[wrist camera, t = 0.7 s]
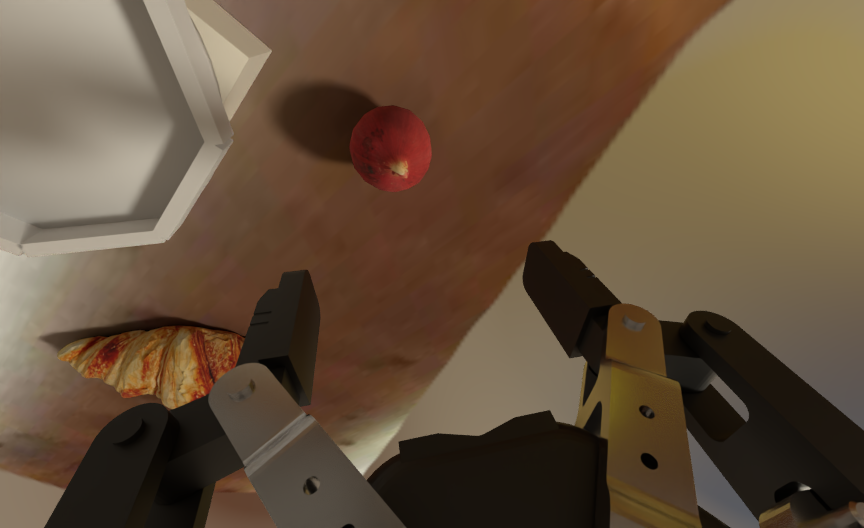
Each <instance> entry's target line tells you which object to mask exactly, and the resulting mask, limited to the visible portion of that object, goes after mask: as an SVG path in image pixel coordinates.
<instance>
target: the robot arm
mask: <svg viewBox="0 0 864 528" xmlns="http://www.w3.org/2000/svg"><path fill="white" fill-rule="evenodd" d="M523 285H524V288H525V290H526V292H527V293H528V295H529V296H530V298H531V299H532V301H533V303H534V304H535V306H536V307H537V309H538V310H539V312H540V313H541V315H542V316H543V318H544V319H545V321H546V323H547V324H548V326H549V327H550V329H551V330H552V332H553V333H554V335H555V336H556V338H557V340H558V341H559V342H560V344H561V345H562V347H563V349H564V350H565V352H566V353H567V355H568V356H569V358H574V357H580V356H583V357H584V358H585V359H586V363H585V365H584V369H583V377H582V385H581V393H580V402H579V408H578V414H577V419H576V422H575V425H574V426H573V425H570V424H566V423H561V422H556V421H555V419H554V417H553V415H552V414H551V411H549V410H548V411H544V412H539V413H534V414H529V415H524V416H520V417H515V418H513V419H511V420H509V421H508V422H506V423H504V424H502V425H500V426H498V427H496V428H495V429H493V430H491V431H489V432H487V433H485V434H483V435H480V436H470V435H453V434H439V433H438V434H433V435H428V436H423V437H418V438H413V439H409V440H404V441H400V442H399V450H400V454H398V455H396V456H394V457H392V458H390V459H389V460H388V461H386V462H385V463H383V464H382V465H381V466H380V467H379V468H378V469H377V470H375V471H374V473H373V474H372V475H371V476H370V477H369V478H368V479H367V480H366V479H365V478H364V477H363V476H362V474H361V473H360V472H359V471H358V470H357V469H356V467H355V466H354V465H353V464H352V463H351V461H350V460H349V459H348V458H347V457H346V455H345V454H344V453H343V452H342V451H341V450H340V448H339V447H338V446H337V445H336V444H335V442H334V441H333V440H332V439H331V438H330V436H329V435H328V434H327V433H326V432H325V431H324V429H323V428H322V427H321V426H320V425H319V423H318V422H317V421H316V420H315V419H314V418H313V417H312V416H311V415H309V414H308V415H306V414H305V413H304V411H303V410H302V409H301V408H300V407H301V406H306V405H310V404H311V396H312V387H313V378H314V369H315V361H316V352H317V343H318V335H319V326H320V308H319V303H318V299H317V296H316V293H315V290H314V286H313V283H312V280H311V277H310V274H309V272H308V270H300V271H292V272H284V273H283V274H282V277H281V281H280V284H279V288H277V289H269V290H268V291H267V292H266V293H265V294H264V295H263V296H262V297H261V298H260V300H259V301H258V303H257V306H256V308H255V311H254V316H253V317H252V320H251V323H250V327H249V328H248V331H247V334H246V337H245V340H244V343H243V346H242V349H241V351H240V354H239V357H238V360H237V363H236V366H235V368H233V369H231V370H229V371H228V372H226V373H225V374H224V375H223V376H221V377H220V378H219V379H218V380H217V381H216V383H215V384H214V385H213V387H212V389H211V391H210V393H209V394H207V395H205V396H203V397H201V398H199V399H196V400H194V401H191V402H189V403H187V404H184V405H182V406H180V407H177V408H175V409H173V410H170V411H168V410H167V409H166V408H165V407H164V406H163V405H161V404H158V403H146V404H142V405H138V406H136V407H133V408H131V409H129V410H127V411H125V412H123V413H122V414H120V415H118V416H117V417H116V418H114V419H113V420H112V421H111V422H109V423H108V424H107V425H106V426H105V427H104V428H103V429H102V430H101V431H100V432H99V434H98V435H97V436H96V438H95V439H94V441H93V442H92V444H91V446H90V448H89V449H88V451H87V453H86V455H85V457H84V458H83V460H82V462H81V464H80V465H79V467H78V469H77V471H76V472H75V474H74V476H73V478H72V479H71V481H70V483H69V485H68V486H67V488H66V490H65V492H64V494H63V495H62V497H61V499H60V501H59V502H58V504H57V506H56V508H55V509H54V511H53V513H52V515H51V517H50V518H49V520H48V522H47V524H46V525H45V527H44V528H204V527H205V524H206V520H207V516H208V512H209V508H210V504H211V499H212V495H213V491H214V487H215V483H216V481H218V480H220V479H222V478H224V477H226V476H227V475H229V474H231V473H233V472H235V471H237V470H239V469H241V468H243V467H244V470H245V472H246V474H247V476H248V478H249V480H250V482H251V483H252V485H253V487H254V488H255V490H256V492H257V494H258V495H259V497H260V499H261V500H262V502H263V504H264V506H265V507H266V509H267V511H268V513H269V514H270V516H271V518H272V519H273V521H274V523H275V524H276V526H277V528H730V527H729V526H727V525H726V524H724V523H723V522H721V521H720V520H718V519H717V518H716V517H714V516H713V515H711V514H710V513H708V512H707V511H705V510H704V509H703V508H701V507H700V506H698V505H697V498H696V491H695V484H694V477H693V471H692V464H691V456H690V449H689V442H688V435H687V429H688V430H689V431H690V433H691V434H692V435H693V437H694V438H695V439H696V441H697V442H698V443H699V444H700V446H701V447H702V448H703V450H704V451H705V452H706V454H707V455H708V456H709V457H710V459H711V460H712V461H713V463H714V464H715V465H716V467H717V468H718V469H719V471H720V472H721V473H722V475H723V476H724V477H725V478H726V480H727V481H728V482H729V484H730V485H731V486H732V488H733V489H734V490H735V491H736V493H737V494H738V495H739V497H740V498H741V499H742V501H743V502H744V503H745V504H746V506H747V507H748V508H749V510H750V511H751V512H752V514H753V515H754V516H755V517H756V519H757V520H758V521H759V526H760V528H864V430H862V429H861V428H860V427H859V426H858V425H856V424H855V423H854V422H853V421H852V420H850V419H849V418H848V417H847V416H846V415H844V414H843V413H842V412H841V411H839V410H838V409H837V408H836V407H835V406H834V405H832V404H831V403H830V402H829V401H828V400H826V399H825V398H824V397H823V396H822V395H821V394H819V393H818V392H817V391H816V390H815V389H813V388H812V387H811V386H810V385H809V384H807V383H806V382H805V381H804V380H803V379H801V378H800V377H799V376H798V375H797V374H795V373H794V372H793V371H792V370H790V369H789V368H788V367H787V366H786V365H785V364H783V363H782V362H781V361H780V360H779V359H777V358H776V357H775V356H774V355H773V354H771V353H770V352H769V351H767V349H765V348H764V347H763V346H762V345H761V344H759V343H758V342H757V341H756V340H755V339H753V338H752V337H751V336H750V335H749V334H747V333H746V332H745V331H743V329H741V328H740V327H739V326H738V325H737V324H735V323H734V322H732V321H731V320H729V319H727V318H725V317H723V316H721V315H718V314H715V313H712V312H707V311H694V312H691V313H690V314H689V315H688V317H687V318H686V320H685V321H684V323H680V322H670V321H660V320H658V319H657V318H656V317H655V316H654V315H652V314H651V313H650V312H648V311H647V310H645V309H643V308H641V307H638V306H635V305H632V304H622V303H621V302H620V301H619V300H618V299H617V298H616V297H615V296H614V295H613V294H612V292H611V291H610V290H608V288H607V287H605V285H604V284H603V283H602V282H601V281H600V280H599V279H598V278H597V277H596V278H595V275H594V274H593V273H592V272H591V271H590V270H588V268H587V267H586V266H585V265H584V264H583V263H582V261H581V260H580V259H578V258H576V257H575V256H573V255H571V254H569V253H568V252H563V251H562V250H561V249H560V248H559V247H558V246H557V245H556V243H555V242H553V241H551V240H550V241H541V242H533V243H531V244H530V245H529V248H528V252H527V257H526V262H525V267H524V272H523ZM717 375H718V376H719V377H720V378H721V379H722V380H723V381H724V382H725V383H726V385H727V386H729V388H730V389H731V390H732V391H733V392H734V393H735V394H736V395H737V396H738V397H739V398H740V399H741V400H742V401H743V402H744V403H745V405H746V407H747V409H748V411H749V419H748V421H747V422H745V420H744V419H743V418H742V417H741V416H740V415H739V414H738V413H737V412H736V411H735V410H734V408H733V407H732V406H731V405H730V404H729V403H728V402H727V401H726V400H725V399H724V398H723V397H722V396H721V395H720V393H719V392H718V391H717V390H716V389H715V388H714V387H713V386H712V385H711V384H710V383H711V382H712V381H713V380H714V379H715V377H716V376H717Z"/></svg>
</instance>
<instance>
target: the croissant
mask: <svg viewBox="0 0 864 528" xmlns="http://www.w3.org/2000/svg"><path fill="white" fill-rule="evenodd" d="M244 340H245V338H243V337H242V336H240V335H238V334H236V333H233V332H228V331H221V330H211V329H206V328H200V327H193V326H166V327H162V328H158V329H154V330H150V331H144V330H137V331H130V332H125V333H122V334H120V335H114V336H110V337H102V336H97V337H91V338H85V339H81V340H77V341H74V342H72V343H70V344H67V345H66V346H65V347H64V348H62V349H61V350H60V351H59V352H58V354H57V357H58V358H59V359H60V360H62V361H69V363H70V364H71V365H72V367H73V368H74V369H76V370H77V371H78V372H79V373H82V376H83V377H85V378H92V377H93V378H101V379H102V380H104V382H105V383H107V384H109V385H112V386H114V387H115V389H116V391H117V392H119V393H120V394H121V396H122V397H123V398H129V397H135V396H139V395H143V394H151V395H152V394H156V396H157V397H158V398H160V399H161V400H162V403H163V405H165V406H167V407H169V408H171V409H175V408H177V407H180V406H182V405H184V404H187V403H189V402H191V401H194V400H196V399H199V398H201V397H203V396H205V395H207V394H209V393H210V391H211V389H212V387H213V385H214V384H215V383H216V381H217V380H218V379H219V378H220V377H221V376H223V375H224V374H225V373H226V372H228V371H229V370H231V369H233V368H235V366H236V363H237V360H238V357H239V354H240V351H241V349H242V346H243V343H244Z"/></svg>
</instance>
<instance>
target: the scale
mask: <svg viewBox="0 0 864 528" xmlns="http://www.w3.org/2000/svg"><path fill="white" fill-rule="evenodd" d="M271 52H272V50H271V49H270V48H268V47H267V46H266V45H265V44H264V43H263V42H261V41H260V40H259V39H258V38H257V37H256V36H254V35H253V34H252V33H251V32H250V31H249V30H247V29H246V28H245V27H244V26H243V25H242V24H240V23H239V22H238V21H237V20H236V19H234V18H233V17H232V16H231V15H230V14H229V13H227V12H226V11H225V10H224V9H223V8H222V7H220V6H219V5H218V4H217V3H216V2H215V1H213V0H0V249H1V250H4V251H6V252H9V253H12V254H15V255H18V256H20V255H22V254H23V253H24V254H25V255H26V256H27V257H36V256H45V255H54V254H64V253H73V252H82V251H91V250H101V249H110V248H119V247H129V246H138V245H147V244H157V243H164V242H165V240H166V239H167V240H169V239H170V238H171V236H172V235H173V234H174V233H175V232H176V231H177V229H178V228H179V227H180V226H181V225H182V223H183V222H184V220H185V218H186V217H187V215H188V213H189V212H190V210H191V209H192V207H193V205H194V204H195V202H196V201H197V199H198V197H199V196H200V194H201V192H202V191H203V189H204V188H205V187H206V185H207V184H208V183H209V181H210V180H211V178H212V176H213V173H214V171H215V170H216V168H217V167H218V165H219V163H220V162H221V160H222V158H223V157H224V155H225V154H226V152H227V150H228V149H229V147H230V145H231V144H232V142H233V141H234V140H233V139H231V137H232V136H233V135H234V133H233V130H232V127H231V125H230V120H231V119H232V117H233V115H234V114H235V112H236V110H237V109H238V107H239V105H240V103H241V102H242V100H243V98H244V97H245V95H246V93H247V92H248V90H249V88H250V87H251V85H252V83H253V82H254V80H255V78H256V77H257V75H258V73H259V72H260V70H261V68H262V67H263V65H264V63H265V62H266V60H267V58H268V57H269V55H270V53H271Z"/></svg>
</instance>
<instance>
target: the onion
mask: <svg viewBox="0 0 864 528" xmlns="http://www.w3.org/2000/svg"><path fill="white" fill-rule="evenodd" d="M349 148H350V153H351V157H352V161H353V165H354V168H355V169H356V170H357V172H358V173H359V174H360V175H361V177H362V178H363V179H364V180H365V181H366V182H367V183H369V184H371V185H373V186H374V187H376V188H378V189H380V190H384V191H390V192H397V191H401V190H406V189H408V188H410V187H412V186H414V185H415V184H417V183H419V182H420V180H421V179H422V177H423V176H424V175H425V173H426V172H427V170H428V168H429V164H430V160H431V156H432V153H431V143H430V136H429V134H428V132H427V130H426V128H425V126H424V124H423V122H422V121H421V120H420V119H419V118H418V117H417V116H416V115H414V114H413V113H412V112H411V111H410V110H408V109H404V108H401V107H397V106H394V105H392V106H382V107H376V108H375V109H373V110H371V111H369V112H367V113H365V114H364V115H363V117H362V118H361V119H360V121H359V122H358V123H357V125H356V126H355V127H354V129H353V132H352V136H351V141H350V145H349Z"/></svg>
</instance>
